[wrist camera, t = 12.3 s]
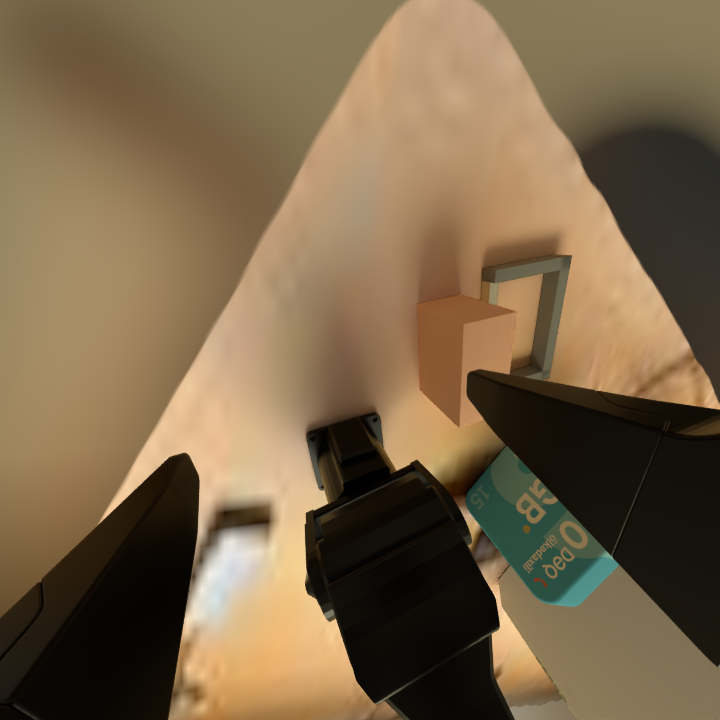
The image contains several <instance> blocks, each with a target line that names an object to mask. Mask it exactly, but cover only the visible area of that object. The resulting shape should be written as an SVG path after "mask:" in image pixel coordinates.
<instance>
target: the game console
mask: <svg viewBox="0 0 720 720" xmlns="http://www.w3.org/2000/svg"><path fill="white" fill-rule="evenodd" d="M499 588H500V596H501V603H502V607H503V609H504V610H505V612H506V613H507V615H508V616H509V618H510V619H511V621H512V622H513V624H514V625H515V627H516V628H517V630H518V631H519V633H520V635H521V636H522V638H523V639H524V641H525V642H526V644H527V645H528V647H529V648H530V650H531V651H532V653H533V654H534V656H535V657H536V659H537V660H538V662H539V663H540V665H541V666H542V668H543V669H544V671H545V672H546V674H547V676H548V677H549V679H550V680H551V682H552V683H553V685H554V686H555V688H556V689H557V691H558V692H559V694H560V695H561V697H562V698H563V700H564V701H565V703H566V704H567V706H568V707H569V709H570V710H571V712H572V713H573V715H574V716H575V718H576V720H720V667H719V668H718V667H716V666H715V665H714V664H713V663H712V662H711V661H710V660H709V659H708V658H707V657H706V656H705V655H704V654H703V653H702V652H701V651H700V650H699V649H698V648H697V647H696V646H695V645H694V644H693V643H692V642H691V641H690V640H689V638H688V637H687V636H686V635H685V634H684V633H683V632H682V631H681V630H680V629H679V628H678V627H677V626H676V625H675V624H674V623H673V622H672V620H671V619H670V618H669V617H668V616H667V615H666V614H665V613H664V612H663V611H662V610H661V609H660V608H659V607H658V606H657V605H656V603H655V602H654V601H653V600H652V599H651V598H650V597H649V596H648V595H647V594H646V593H645V592H644V591H643V590H642V589H641V588H640V587H639V585H638V584H637V583H636V582H635V581H634V580H633V579H632V578H631V577H630V576H629V575H628V574H627V573H626V572H625V571H624V570H623V568H622V567H621V566H620V565H619V566H618V567H617V568H616V569H615V570H614V571H613V572H612V573H611V574H610V575H609V576H608V577H607V578H606V579H605V580H604V581H603V582H602V583H601V584H600V585H599V586H598V587H597V588H596V589H595V590H594V591H593V592H592V593H591V594H590V595H589V596H588V597H587V598H586V599H585V600H584V601H583V602H582V603H581V604H580V605H578V606H575V607H568V606H559V605H551V604H546V603H543V602H541V601H540V600H538V599H537V598H536V597H535V596H534V595H533V594H532V593H531V592H530V590H529V589H528V588H527V586H526V585H525V584H524V583H523V581H522V580H521V579H520V577H519V576H518V575H517V573H516V572H515V571H514V569H513V568H512V567H511V566H509V567H508V569H507V570H506V571H505V573H504V574H503V575H502V576H501V578H500V579H499Z"/></svg>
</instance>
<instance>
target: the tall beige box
mask: <svg viewBox="0 0 720 720" xmlns="http://www.w3.org/2000/svg"><path fill="white" fill-rule="evenodd" d="M417 309H418V342H419V375H420V391H421V392H422V393H423V394H424V395H426V396H427V397H428V398H429V399H430V400H431V401H432V402H433V403H434V404H435V405H436V406H437V407H438V408H439V409H440V410H441V411H442V412H443V413H444V414H445V415H446V416H447V417H448V418H449V419H451V420H452V421H453V422H454V423H455V424H456V425H457V426H458V427H459V428H461V427H464V426H467V425H470V424H473V423H476V422H479V421H482V420H484V419H483V417H482V416H481V415H480V413H479V412H478V411H477V410H476V408H475V407H474V406H473V404H472V403H471V402H470V400H469V399H468V397H467V394H466V387H467V374H468V373H469V372H470V371H474V370H477V369H483V370H488V371H493V372H499V373H504V374H510V366H511V358H512V350H513V341H514V333H515V325H516V316H517V312H516V311H513V310H510V309H506V308H503V307H500V306H497V305H493V304H490V303H487V302H484V301H480V300H477V299H474V298H471V297H467V296H464V295H457V296H452V297H447V298H442V299H438V300H433V301H428V302H423V303H418V304H417Z"/></svg>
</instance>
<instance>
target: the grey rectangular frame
mask: <svg viewBox="0 0 720 720" xmlns="http://www.w3.org/2000/svg"><path fill="white" fill-rule="evenodd" d="M571 258H572V255H558V254H555V255H549V256H544V257H539V258H534V259H528V260H523V261H518V262H513V263H507V264H502V265H497V266H491V267H486V268H483V271H482V287H481V301H484V302H487V303H490V304H493V305H497V295H498V284H499V283H500V282H505V281H509V280H514V279H519V278H524V277H529V276H534V275H538V274H543V273H544V277H543V284H542V290H541V297H540V303H539V310H538V317H537V323H536V330H535V336H534V343H533V350H532V356H531V363H530V366H527V367H523V368H520V369H516V370H513V371H510V375H515V376H521V377H526V378H531V379H537V380H544V379H548V378H549V376H550V371H551V366H552V360H553V355H554V350H555V344H556V339H557V333H558V328H559V323H560V317H561V312H562V307H563V301H564V296H565V291H566V285H567V280H568V274H569V269H570V264H571Z"/></svg>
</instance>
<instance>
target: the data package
mask: <svg viewBox="0 0 720 720" xmlns="http://www.w3.org/2000/svg"><path fill="white" fill-rule="evenodd" d="M466 506H467V509H468V510H469V512H470V513H471V515H472V516H473V517H474V519H475V520H476V521H477V522H478V524H479V525H480V526H481V528H482V529H483V530H484V532H485V533H486V534H487V536H488V537H489V538H490V539H491V541H492V542H493V543H494V545H495V546H496V547H497V549H498V550H499V551H500V552H501V554H502V555H503V556H504V558H505V559H506V560H507V562H508V563H509V564H510V566H511V567H512V568H513V569H514V571H515V572H516V573H517V575H518V576H519V577H520V579H521V580H522V581H523V583H524V584H525V585H526V586H527V588H528V589H529V590H530V592H531V593H532V594H533V595H534V596H535V597H536V598H537V599H538V600H540V601H541V602H543V603H546V604H551V605H559V606H568V607H575V606H578V605H580V604H581V603H582V602H583V601H584V600H585V599H586V598H587V597H588V596H589V595H590V594H591V593H592V592H593V591H594V590H595V589H596V588H597V587H598V586H599V585H600V584H601V583H602V582H603V581H604V580H605V579H606V578H607V577H608V576H609V575H610V574H611V573H612V572H613V571H614V570H615V569H616V568H617V567H618V566H619V564H618V563H617V562H616V561H615V560H614V559H613V558H612V556H611V555H610V554H609V553H608V552H607V551H606V550H605V549H604V548H603V547H602V546H601V545H600V544H599V543H598V542H597V541H596V540H595V539H594V538H593V536H592V535H591V534H590V533H589V532H588V531H587V530H586V529H585V528H584V527H583V526H582V525H581V524H580V523H579V522H578V521H577V519H576V518H575V517H574V516H573V515H572V514H571V513H570V512H569V511H568V510H567V509H566V508H565V507H564V506H563V505H562V504H561V503H560V501H559V500H558V499H557V498H556V497H555V496H554V495H553V494H552V493H551V492H550V491H549V490H548V489H547V488H546V487H545V486H544V485H543V483H542V482H541V481H540V480H539V479H538V478H537V477H536V476H535V475H534V474H533V473H532V472H531V471H530V470H529V469H528V468H527V467H526V465H525V464H524V463H523V462H522V461H521V460H520V459H519V458H518V457H517V456H516V455H515V454H514V453H513V452H512V451H511V450H510V449H509V447H508V446H507V445H506V447H505V448H504V449H503V450H502V451H501V453H500V454H499V455H498V456H497V457H496V459H495V460H494V461H493V462H492V463H491V465H490V466H489V467H488V468H487V469H486V471H485V472H484V473H483V474H482V475H481V477H480V478H479V479H478V480H477V481H476V483H475V484H474V485H473V486H472V487H471V489H470V490H469V491H468V493H467V496H466Z"/></svg>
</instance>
